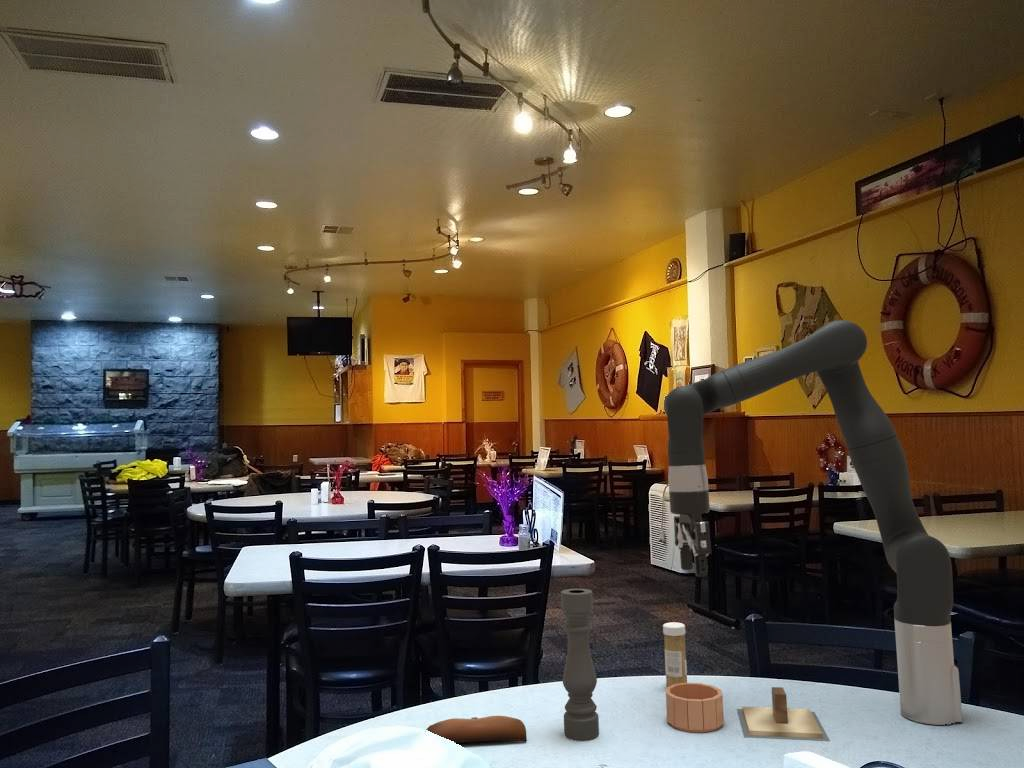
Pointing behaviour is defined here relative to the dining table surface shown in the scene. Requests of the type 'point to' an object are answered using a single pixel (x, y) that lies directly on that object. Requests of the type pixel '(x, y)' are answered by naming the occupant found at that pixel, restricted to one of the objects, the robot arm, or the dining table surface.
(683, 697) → the wooden bowl
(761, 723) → the birch cover
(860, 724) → the dining table surface
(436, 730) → the sunglasses case
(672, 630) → the sprinkles bottle
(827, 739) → the rubber mat
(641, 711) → the dining table surface
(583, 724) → the candle holder
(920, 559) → the robot arm
